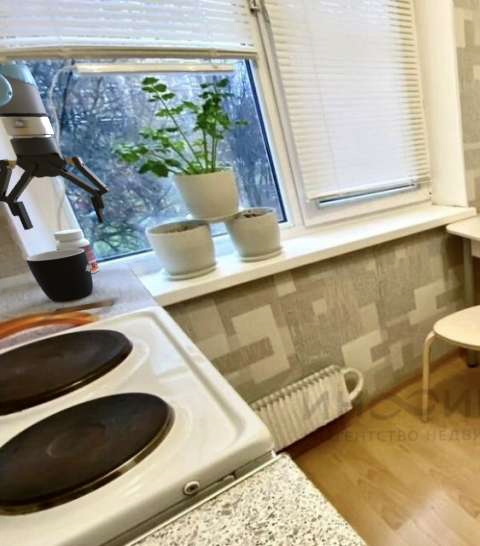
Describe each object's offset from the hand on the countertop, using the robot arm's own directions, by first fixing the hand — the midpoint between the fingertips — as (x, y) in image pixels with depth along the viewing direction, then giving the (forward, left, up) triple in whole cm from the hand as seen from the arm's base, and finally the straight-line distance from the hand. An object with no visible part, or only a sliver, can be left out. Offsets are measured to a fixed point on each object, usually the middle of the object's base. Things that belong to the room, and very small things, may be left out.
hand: (67, 225), depth 106 cm
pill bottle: (0, 0, -13) cm, 13 cm away
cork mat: (+7, -34, -13) cm, 37 cm away
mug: (+2, -19, -13) cm, 23 cm away
